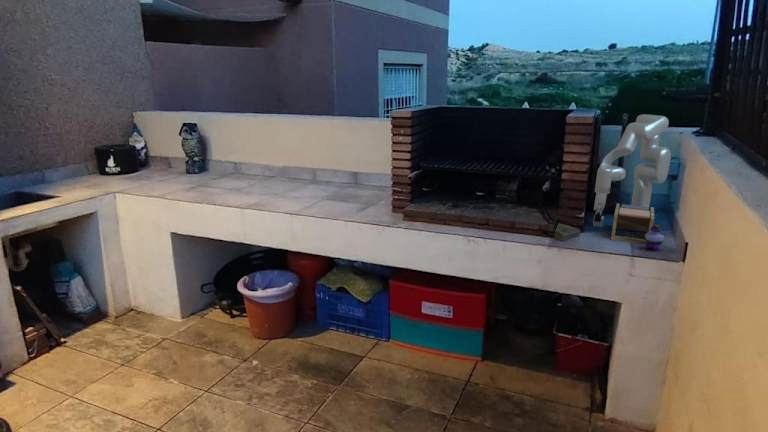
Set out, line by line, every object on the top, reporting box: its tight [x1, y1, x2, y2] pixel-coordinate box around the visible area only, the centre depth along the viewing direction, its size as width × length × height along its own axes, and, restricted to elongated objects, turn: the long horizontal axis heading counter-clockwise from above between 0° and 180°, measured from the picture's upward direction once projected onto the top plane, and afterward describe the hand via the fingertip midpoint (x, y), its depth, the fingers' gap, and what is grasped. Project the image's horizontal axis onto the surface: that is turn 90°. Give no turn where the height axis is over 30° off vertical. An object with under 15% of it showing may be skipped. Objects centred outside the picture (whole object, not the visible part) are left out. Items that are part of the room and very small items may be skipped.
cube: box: [592, 215, 605, 228], centre depth 280 cm, size 5×5×5 cm
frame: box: [610, 203, 655, 245], centre depth 261 cm, size 25×18×14 cm
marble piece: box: [553, 222, 581, 242], centre depth 264 cm, size 17×15×4 cm
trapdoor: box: [619, 203, 650, 219], centre depth 260 cm, size 18×14×4 cm
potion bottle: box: [644, 224, 665, 252], centre depth 242 cm, size 9×9×12 cm
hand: (598, 219), depth 279 cm, fingers open, 9 cm apart
